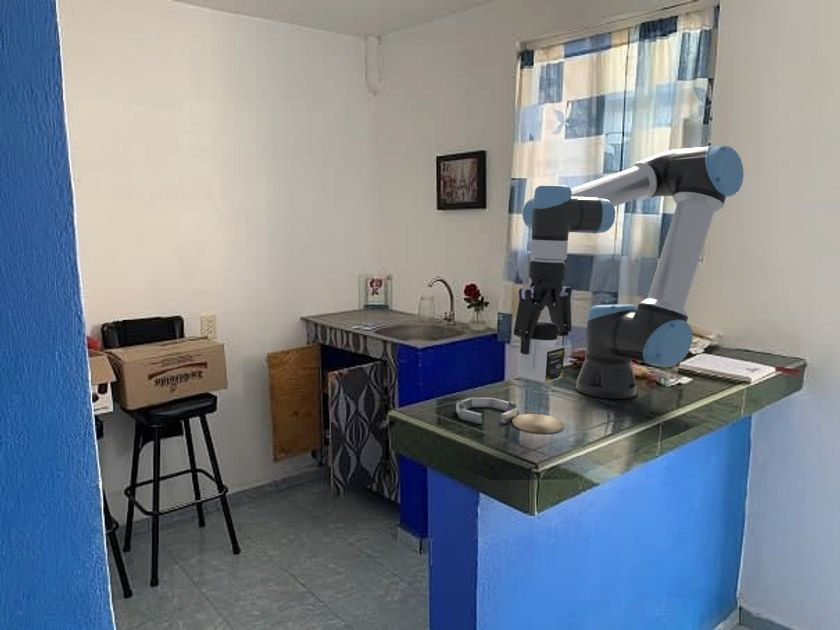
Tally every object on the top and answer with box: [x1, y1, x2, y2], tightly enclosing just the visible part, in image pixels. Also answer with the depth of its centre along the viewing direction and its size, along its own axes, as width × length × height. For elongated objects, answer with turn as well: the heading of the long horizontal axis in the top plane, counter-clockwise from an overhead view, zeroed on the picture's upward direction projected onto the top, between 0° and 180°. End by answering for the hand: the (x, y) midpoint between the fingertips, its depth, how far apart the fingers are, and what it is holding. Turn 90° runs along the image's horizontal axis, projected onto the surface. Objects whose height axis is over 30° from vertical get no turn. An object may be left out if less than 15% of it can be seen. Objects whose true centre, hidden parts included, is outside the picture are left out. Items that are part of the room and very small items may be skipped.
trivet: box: [511, 413, 565, 434], centre depth 136 cm, size 11×11×1 cm
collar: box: [455, 397, 518, 425], centre depth 141 cm, size 13×13×3 cm
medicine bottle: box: [517, 320, 566, 384], centre depth 133 cm, size 7×7×12 cm
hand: (540, 366), depth 134 cm, fingers closed on medicine bottle, 8 cm apart
